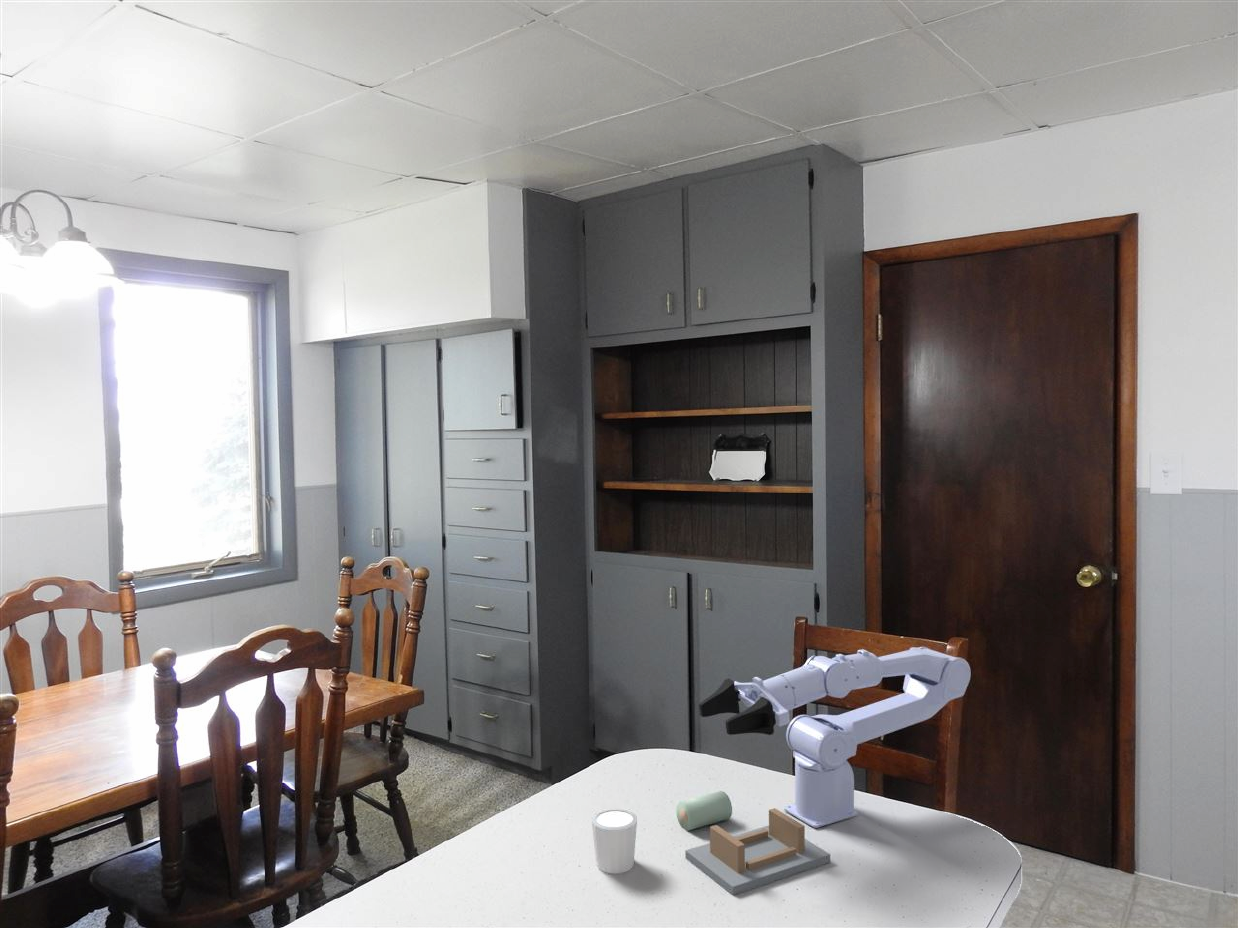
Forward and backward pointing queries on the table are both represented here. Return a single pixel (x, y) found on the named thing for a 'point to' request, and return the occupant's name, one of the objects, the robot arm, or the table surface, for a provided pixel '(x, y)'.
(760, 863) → the holder
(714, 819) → the roll
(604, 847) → the white cup
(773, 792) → the table surface
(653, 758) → the table surface
